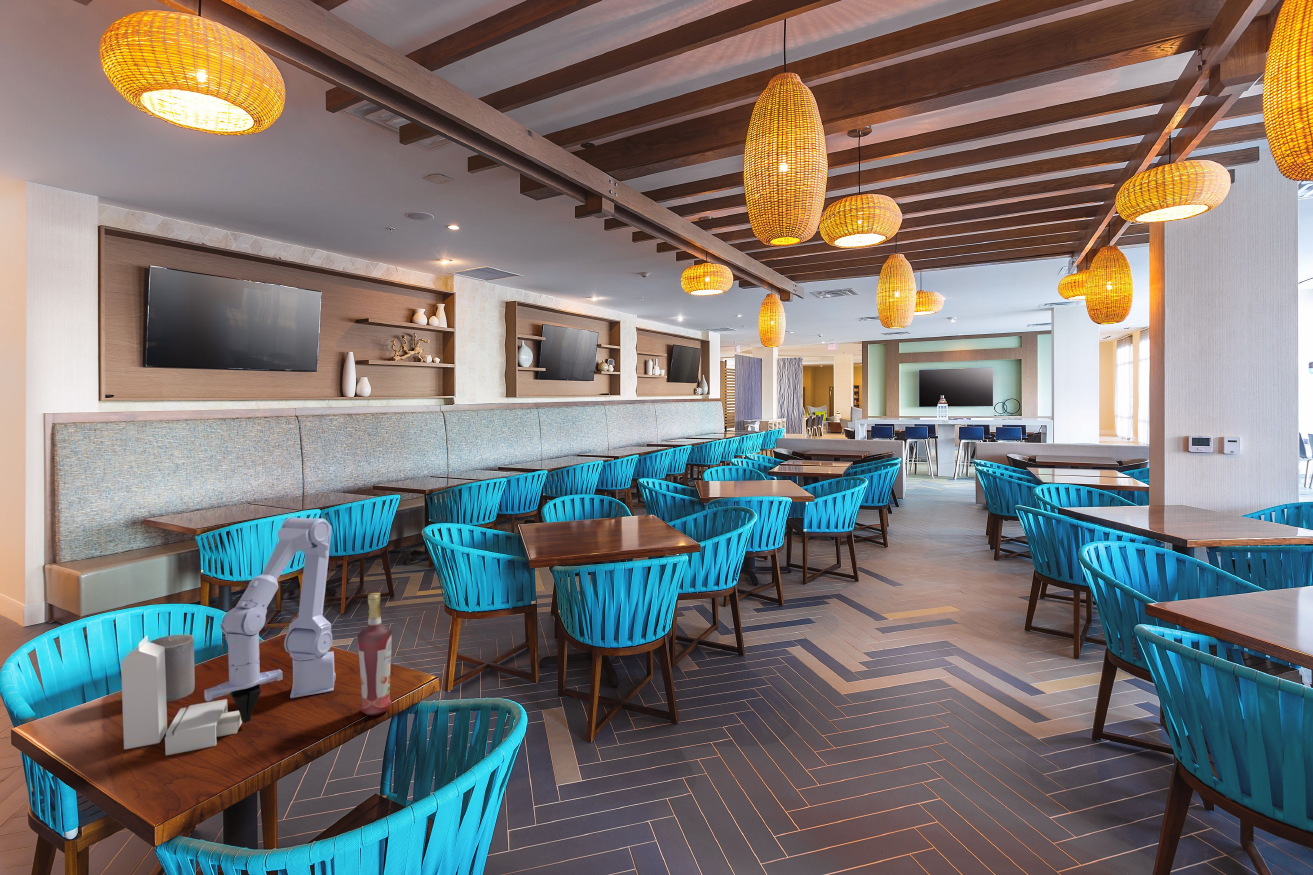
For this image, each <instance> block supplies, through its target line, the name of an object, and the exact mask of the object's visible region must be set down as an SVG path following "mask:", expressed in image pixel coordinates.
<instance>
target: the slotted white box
mask: <svg viewBox="0 0 1313 875" xmlns="http://www.w3.org/2000/svg"><path fill="white" fill-rule="evenodd" d="M227 712H229V711H228V699H227V698H224V699H220V700H219V699H218V700H212V701H206V702H202V703H196V704H190V705H189V706H188V707H181V708H179V710H178V712H177V714H176V715H175V717H174V718H173V720H172V722H171V723H170V725H169V726H168V727H167V731H166V733H165V736H164V743H165V744H164V746H165V748H164V749H165V756H170V755H176V754H180V753H185V752H191V751H195V750H200V749H201V750H202V749H206V748H210V747H216V746H217V737H216V726H217V724H218V721H219V719H220V717H221V715H222V713H227Z"/></svg>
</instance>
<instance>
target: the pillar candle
mask: <svg viewBox="0 0 1313 875" xmlns="http://www.w3.org/2000/svg"><path fill="white" fill-rule="evenodd" d="M194 640H195V637H194V636H193V635H192V634H173V635H172V634H171V635H167V636H166V635H165V636H162V637H159V638H156V639H153V640H150V641H149V642H151V643H154V644H157V645H160V646H163V647H165V674H166V703H171V702H174V701H178V700H181V699H183V698H187V697H188V696H189V695H191V694H193V692H194V691H195V688H196V687H195V686H196V685H195V684H196V682H195V680H196V678H195V641H194Z"/></svg>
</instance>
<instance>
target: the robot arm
mask: <svg viewBox="0 0 1313 875" xmlns="http://www.w3.org/2000/svg"><path fill="white" fill-rule="evenodd" d="M332 528H333V527H332V525H330V523H329V522H328V520H326V519H325V518H322V517H321V518H307V517H305V518H304V517H295V516H294V517H293V516H292V517H291V516H290V517H288V518H286V519H285V520H284V521H283V522H282V524H281V527H280V529H279V530H277V537H278V538H277V539H278V542H277V544H276V546H275V547H274V550H273V552H272V554H271V556H270V557H269V559H268V560H267V561H268V562H267V563H266V565H265V568H264V569H263V572H262V573H261V574H260V575H258V576H255V577H253V578H252V579H251V580H250V582H249V583H248V586H247V588H246V589H245V591H244V592H243V594H242V596H241V597H240V599H239V600H238V602H237V604H236V605H235V607H233V608H231V609H230V610H228V611H227V612H226V613H225V614H224V616H223V617H222V621H221V623H220V624H219V626H220V630H221V631H222V633H223V634H224V635H225V641H226V642H227V651H228V652H227V656H228V658H227V659H228V681H226V682H223V683H220V684H218V685H215V686H213V687H210V688H207V689H204V691H203V692H204V700H205V701H206V702H211V701H214V699H216V698H220V697H222V696H226V695H230V697H231V698H232V699H233V701H234V703H235V705H236V707H237V711H239V713H240V716H241V721H242V724H246V723H249V722H251V719H252V714H253V710H254V707H255V704H256V703H257V700H258V698H259V696H260V695H261V693H262V688H261V687H260V686H261V685H264V684H268V683H272V682H274V681H277V682H279V681H281V680H283V671H282V670H281V669H280V668H279V669H276V670H270V671H264V672H260V670H261V669H260V634H259V633H260V631H261V630H262V628H264V626H265V623H266V621H267V620H266V619H267V618H266V615H267V613H268V610H267V608H268V606H269V605H270V603H271V601H272V600H273V598H274V596H275V595H276V592H277V591H278V590H279V583H278V579H279V577H280V576H281V574H282V573H283V571H284V570H285V569H286V567H287V566H288V565H289V563H290V562H291V560H292V559H293V558H294V556H295V555H296V553H297V552H298V553H299V552H302V553H303V554H304V562H303V563H304V564H303V572H302V579H301V580H302V582H301V589H300V599H299V607H298V617H297V618H295V619H294V620H293V621H292V622H290V623H289V625H288V630H287V633H286V635H285V638H284V642H283V646H284V649H285V651H286V652H287V653H288V654H289V658H292V688H291V692H290V695H289V697H290V699H295V698H300V697H301V698H302V697H305V696H310V695H311V696H312V695H316V694H322V693H328V692H333V691H334V688H335V681H336V677H337V676H336V674H337V673H336V672H335V653H334V652H335V651H333V650H332V651H329V650H330V649H331V647H332V644H333V634H332V623H331V622H330V621H329V620H327V618H326V617H325V616H324V615H323V614H324V603H325V597H326V595H325V594H326V587H327V585H326V584H327V578H328V577H327V576H328V568H329V558H330V557H329V556H330V548H331V536H332Z"/></svg>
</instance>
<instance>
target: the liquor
mask: <svg viewBox="0 0 1313 875" xmlns="http://www.w3.org/2000/svg"><path fill="white" fill-rule="evenodd" d="M367 604H368V608H369V609H368V619H367V620H368V621H367V627H365V628H363V629H362V630H360V631H359V632H358V634H357V645H358V646H357V647H358V649H357V650H358V661H359V671H360V672H359V673H360V674H359V675H360V686H361V688H360V689H361V706H360V708H359V710H360V712H361V713H363V714H365V715H367V716H369V717H370V716H371V717H375V716H380V715H382V714H384V713H385V712H386V711H388V709H389V708H390V707H391V706H392V704H393V701H391V695H390V693H391V691H390V690H391V662H392V636H393V635H392V633H393V632H392V631H393V630H392V629H391V628H389V627H388V626H386V625H382V624H383V623H382V617H381V608H380V605H381V592H371V593H368V594H367Z"/></svg>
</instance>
